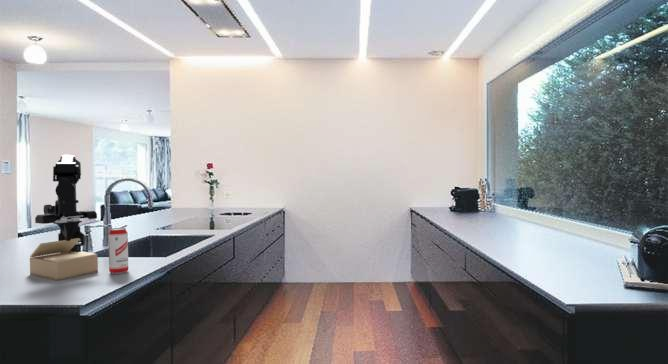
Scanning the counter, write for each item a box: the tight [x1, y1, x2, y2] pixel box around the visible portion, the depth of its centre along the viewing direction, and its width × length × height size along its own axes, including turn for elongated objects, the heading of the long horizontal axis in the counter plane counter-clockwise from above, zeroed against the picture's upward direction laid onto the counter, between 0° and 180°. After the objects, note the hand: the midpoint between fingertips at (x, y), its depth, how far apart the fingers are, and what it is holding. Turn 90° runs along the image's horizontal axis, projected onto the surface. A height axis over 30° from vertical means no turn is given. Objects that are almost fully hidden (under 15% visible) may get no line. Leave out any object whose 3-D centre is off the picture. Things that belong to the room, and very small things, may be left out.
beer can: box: [107, 227, 129, 275], centre depth 157 cm, size 6×6×16 cm
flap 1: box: [29, 238, 80, 258], centre depth 160 cm, size 14×9×1 cm
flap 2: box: [44, 250, 98, 263], centre depth 155 cm, size 14×9×1 cm, turn 150°
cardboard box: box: [29, 251, 99, 281], centre depth 157 cm, size 14×18×6 cm
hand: (68, 240), depth 155 cm, fingers closed
